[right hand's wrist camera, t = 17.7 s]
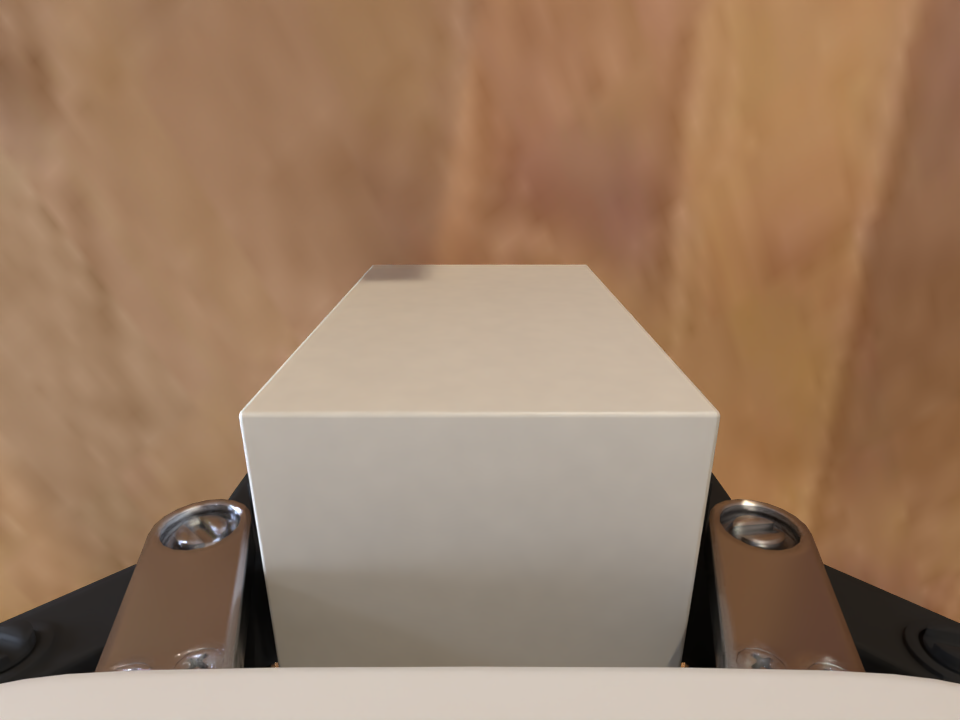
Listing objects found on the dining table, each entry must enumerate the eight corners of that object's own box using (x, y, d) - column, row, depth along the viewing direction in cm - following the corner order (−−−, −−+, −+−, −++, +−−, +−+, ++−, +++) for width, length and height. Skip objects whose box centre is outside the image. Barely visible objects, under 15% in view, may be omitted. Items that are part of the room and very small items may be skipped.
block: (387, 511, 16) (305, 841, 8) (371, 264, 13) (236, 413, 6) (571, 511, 16) (654, 841, 8) (587, 264, 13) (723, 413, 6)
